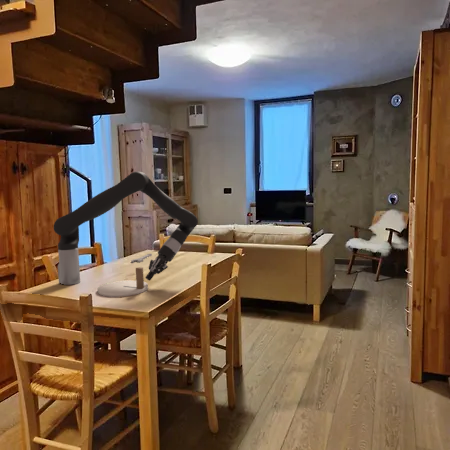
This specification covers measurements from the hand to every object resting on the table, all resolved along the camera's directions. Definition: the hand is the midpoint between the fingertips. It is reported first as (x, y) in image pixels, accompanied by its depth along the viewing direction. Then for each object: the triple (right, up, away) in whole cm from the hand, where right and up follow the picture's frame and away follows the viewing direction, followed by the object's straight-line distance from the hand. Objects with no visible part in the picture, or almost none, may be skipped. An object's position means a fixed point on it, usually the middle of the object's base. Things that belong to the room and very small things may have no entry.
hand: (147, 279), depth 187 cm
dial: (-11, -5, -2) cm, 12 cm away
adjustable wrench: (-16, +2, +75) cm, 77 cm away
